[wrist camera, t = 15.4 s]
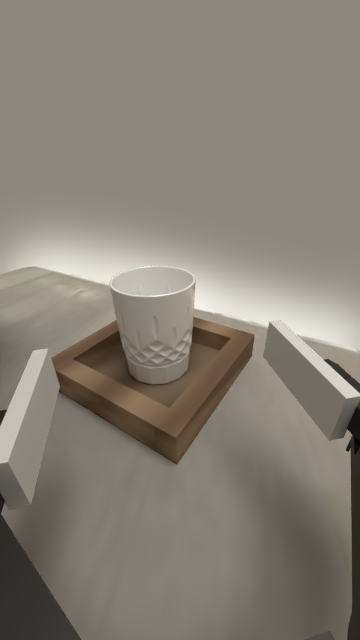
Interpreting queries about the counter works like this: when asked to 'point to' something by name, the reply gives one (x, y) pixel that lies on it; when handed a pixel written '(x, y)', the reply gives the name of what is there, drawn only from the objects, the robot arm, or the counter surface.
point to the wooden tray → (154, 400)
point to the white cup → (155, 320)
